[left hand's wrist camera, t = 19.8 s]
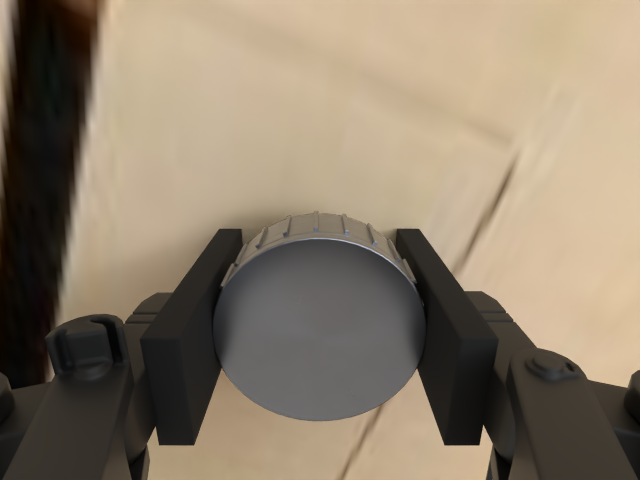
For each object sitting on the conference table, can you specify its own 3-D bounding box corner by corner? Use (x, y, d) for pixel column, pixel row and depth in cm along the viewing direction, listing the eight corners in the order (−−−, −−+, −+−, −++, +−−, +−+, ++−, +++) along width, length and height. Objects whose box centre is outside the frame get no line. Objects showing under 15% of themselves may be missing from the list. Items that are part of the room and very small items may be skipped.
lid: (188, 307, 12) (164, 346, 10) (309, 168, 11) (307, 184, 9) (327, 404, 13) (328, 455, 11) (452, 292, 12) (476, 329, 10)
